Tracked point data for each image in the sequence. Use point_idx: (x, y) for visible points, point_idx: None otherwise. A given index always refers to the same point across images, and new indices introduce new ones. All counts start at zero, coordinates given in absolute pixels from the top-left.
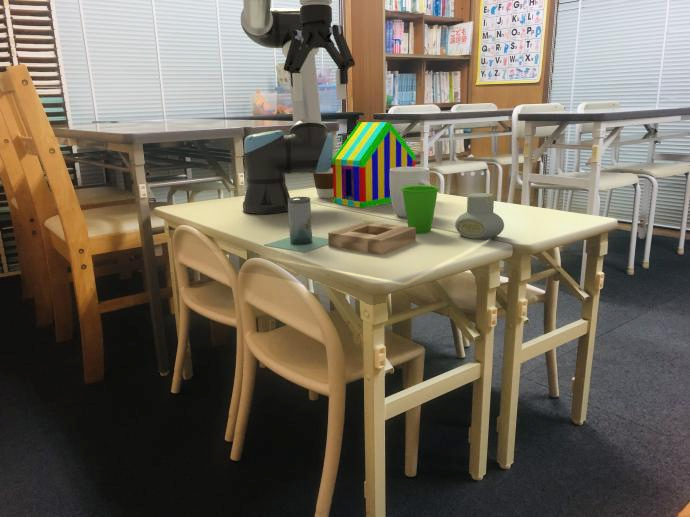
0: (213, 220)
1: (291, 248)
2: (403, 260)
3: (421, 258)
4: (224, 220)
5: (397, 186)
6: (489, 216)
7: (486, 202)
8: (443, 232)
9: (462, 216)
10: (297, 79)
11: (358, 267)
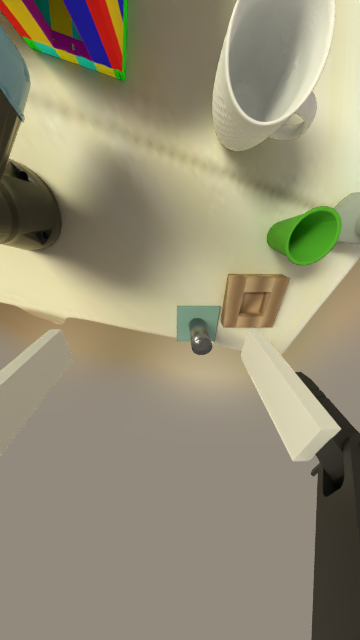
0: (48, 297)
1: None
2: (282, 320)
3: (294, 310)
4: (56, 291)
5: (245, 141)
6: None
7: None
8: None
9: (344, 236)
10: (7, 421)
11: None
